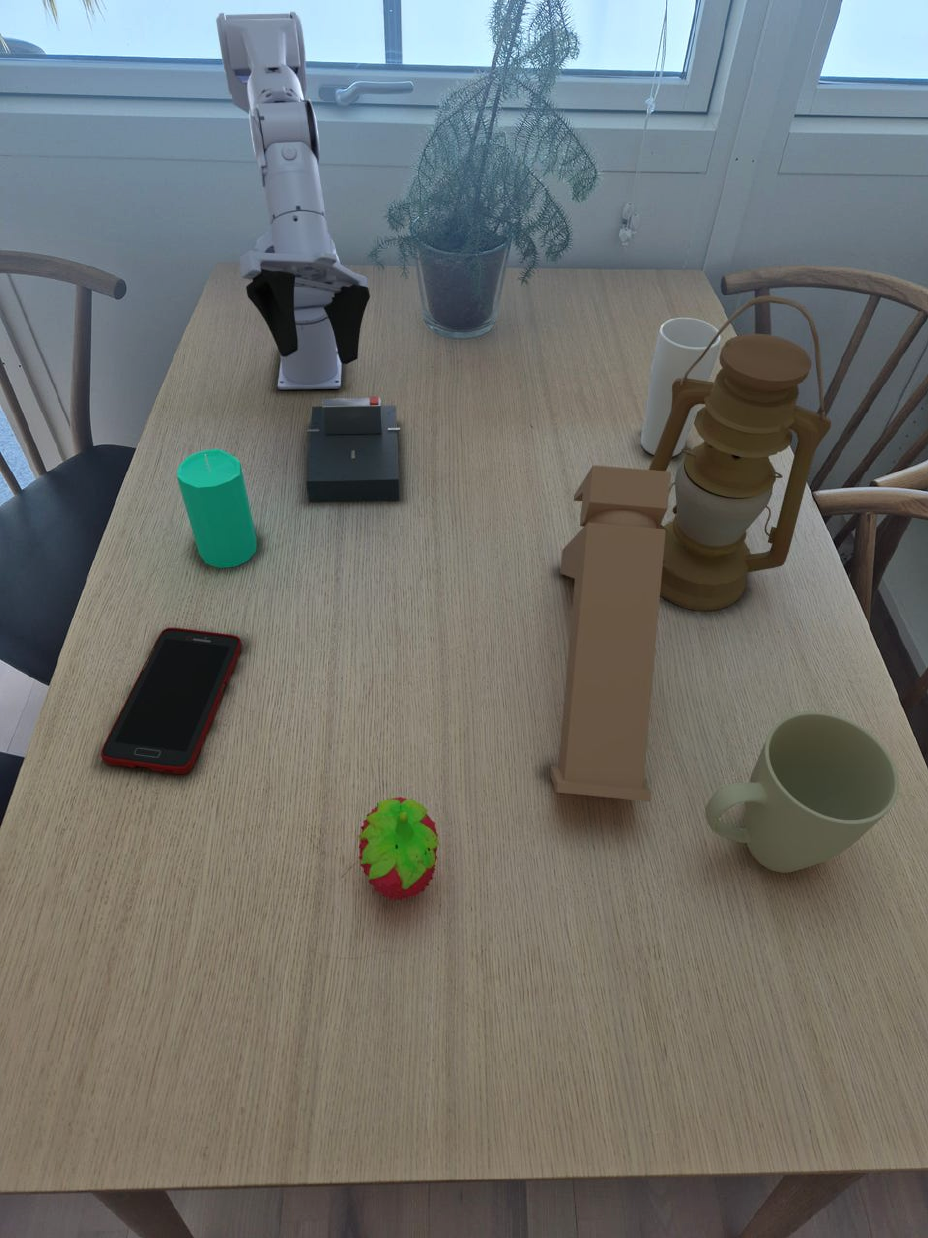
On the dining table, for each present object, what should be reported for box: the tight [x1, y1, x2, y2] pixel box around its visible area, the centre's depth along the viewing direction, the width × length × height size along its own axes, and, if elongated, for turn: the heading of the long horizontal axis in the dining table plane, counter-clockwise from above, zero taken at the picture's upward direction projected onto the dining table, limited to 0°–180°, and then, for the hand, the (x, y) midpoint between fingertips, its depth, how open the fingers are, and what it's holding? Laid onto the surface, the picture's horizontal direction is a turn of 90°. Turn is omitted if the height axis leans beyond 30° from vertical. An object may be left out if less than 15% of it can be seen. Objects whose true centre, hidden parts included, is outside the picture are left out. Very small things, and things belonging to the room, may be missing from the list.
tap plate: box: [305, 404, 401, 503], centre depth 95 cm, size 14×11×3 cm
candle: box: [176, 448, 258, 569], centre depth 82 cm, size 6×6×12 cm
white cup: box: [640, 317, 722, 457], centre depth 95 cm, size 7×7×15 cm
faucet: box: [549, 465, 672, 802], centre depth 74 cm, size 7×23×25 cm
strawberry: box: [358, 796, 440, 902], centre depth 59 cm, size 6×7×10 cm
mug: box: [704, 710, 900, 874], centre depth 61 cm, size 11×10×12 cm
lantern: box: [648, 295, 832, 612], centre depth 75 cm, size 15×10×30 cm
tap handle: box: [321, 396, 382, 435], centre depth 94 cm, size 6×2×4 cm, turn 94°
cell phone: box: [100, 627, 243, 775], centre depth 73 cm, size 8×15×1 cm, turn 172°
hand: (320, 357), depth 84 cm, fingers open, 7 cm apart
